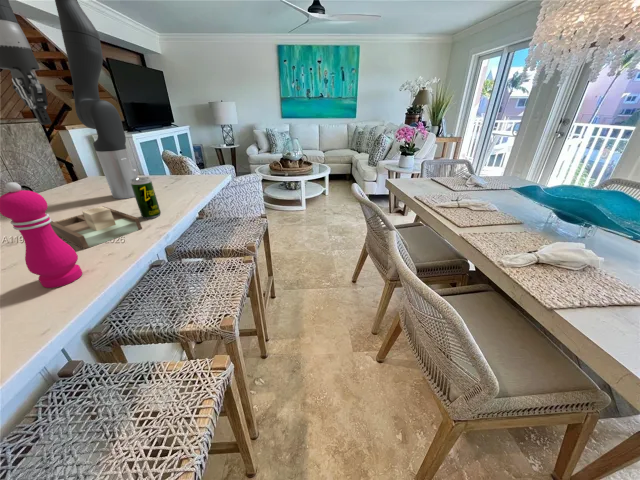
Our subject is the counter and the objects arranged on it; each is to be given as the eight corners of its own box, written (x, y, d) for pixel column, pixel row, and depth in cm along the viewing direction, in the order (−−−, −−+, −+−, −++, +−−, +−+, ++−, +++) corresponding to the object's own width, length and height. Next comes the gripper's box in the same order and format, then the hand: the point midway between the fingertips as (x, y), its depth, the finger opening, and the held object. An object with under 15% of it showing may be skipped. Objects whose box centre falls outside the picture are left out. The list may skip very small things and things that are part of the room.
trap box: (106, 215, 85) (102, 206, 83) (142, 228, 76) (138, 218, 74) (50, 232, 74) (45, 221, 72) (84, 249, 65) (78, 237, 63)
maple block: (107, 221, 74) (101, 206, 72) (115, 224, 72) (109, 209, 70) (88, 227, 71) (82, 211, 69) (97, 230, 69) (90, 214, 67)
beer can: (138, 218, 83) (125, 180, 77) (152, 212, 87) (141, 176, 82) (151, 220, 81) (139, 181, 76) (165, 214, 86) (154, 177, 80)
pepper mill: (58, 270, 57) (8, 177, 48) (94, 268, 57) (50, 176, 48) (28, 291, 50) (-37, 188, 41) (68, 288, 51) (13, 187, 42)
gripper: (40, 45, 63) (74, 124, 72) (19, 50, 69) (52, 122, 77) (-4, 41, 58) (38, 126, 66) (-23, 46, 63) (18, 124, 72)
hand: (46, 124), depth 72 cm, fingers closed
